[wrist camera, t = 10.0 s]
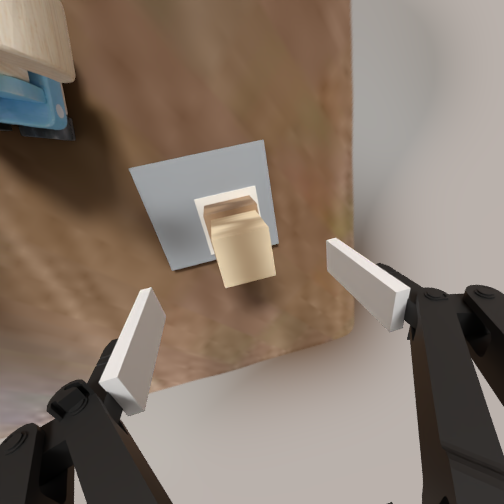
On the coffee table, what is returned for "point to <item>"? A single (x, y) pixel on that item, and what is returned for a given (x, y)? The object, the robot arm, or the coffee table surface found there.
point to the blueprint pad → (202, 196)
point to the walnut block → (227, 210)
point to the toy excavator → (35, 68)
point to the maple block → (242, 248)
